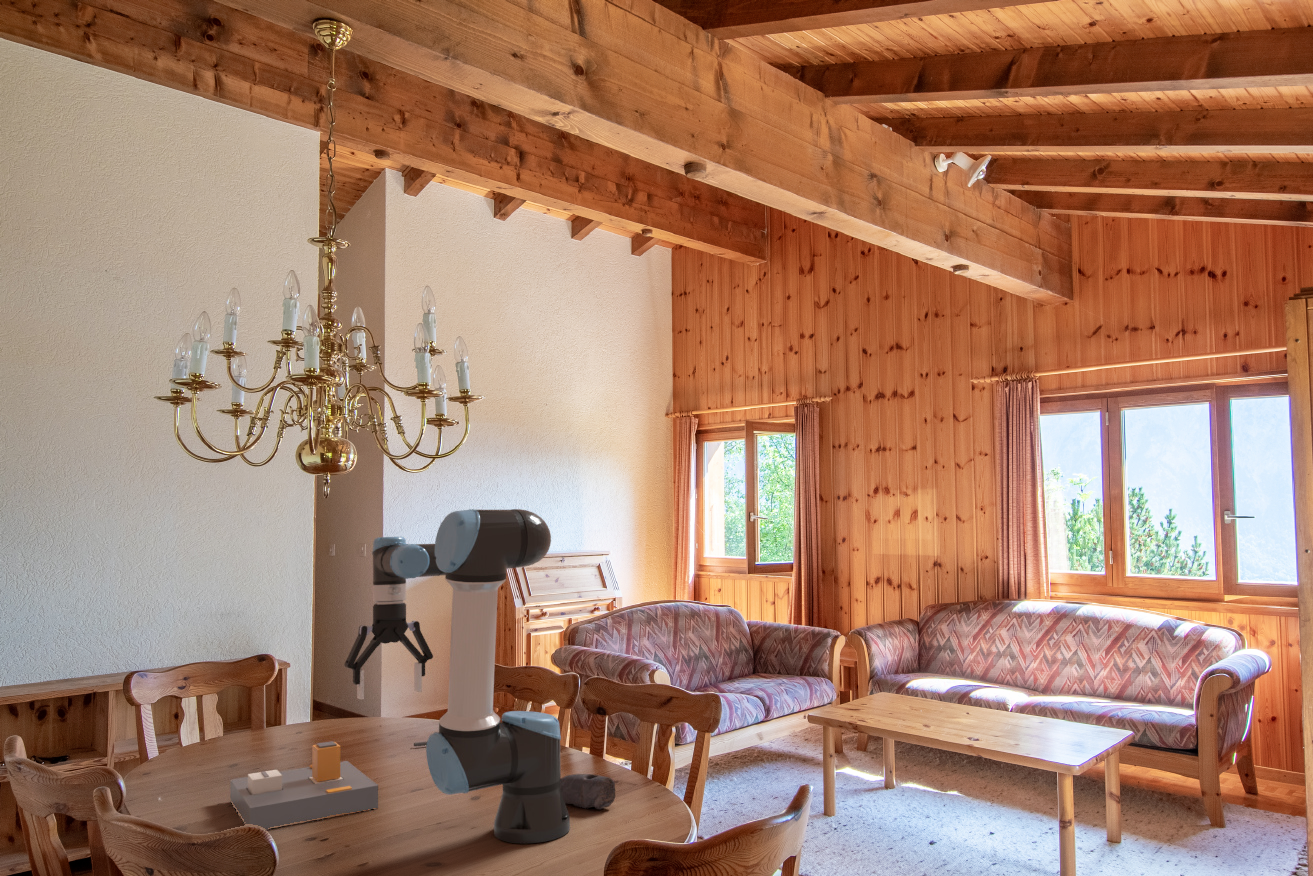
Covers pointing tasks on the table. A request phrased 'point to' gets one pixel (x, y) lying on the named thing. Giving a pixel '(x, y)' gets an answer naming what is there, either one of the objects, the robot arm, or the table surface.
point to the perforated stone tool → (588, 790)
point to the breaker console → (305, 797)
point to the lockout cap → (326, 761)
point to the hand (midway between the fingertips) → (389, 695)
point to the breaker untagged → (264, 782)
